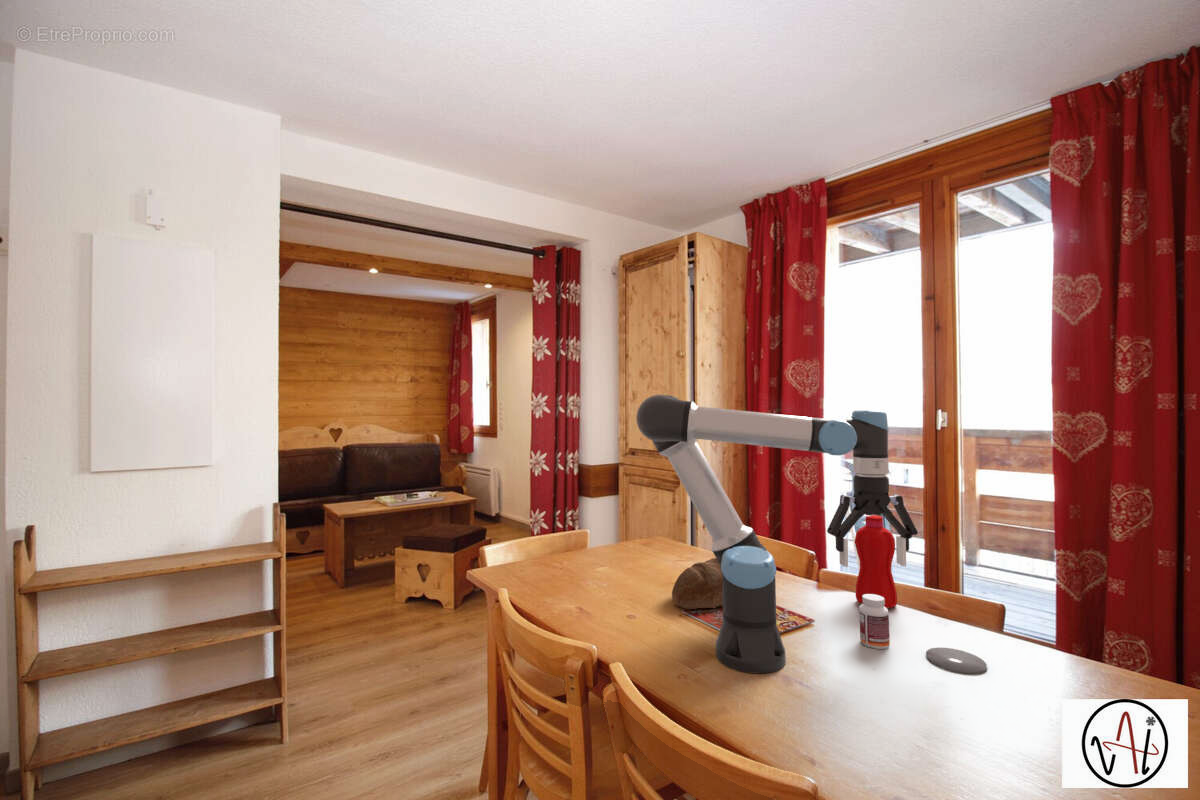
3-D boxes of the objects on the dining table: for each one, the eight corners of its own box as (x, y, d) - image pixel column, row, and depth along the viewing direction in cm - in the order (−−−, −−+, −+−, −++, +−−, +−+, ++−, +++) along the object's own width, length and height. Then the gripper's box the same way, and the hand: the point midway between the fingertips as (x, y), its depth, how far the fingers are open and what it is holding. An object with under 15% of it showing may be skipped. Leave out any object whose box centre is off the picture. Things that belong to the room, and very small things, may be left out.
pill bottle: (895, 645, 123) (893, 598, 124) (880, 652, 120) (879, 603, 120) (869, 636, 129) (867, 590, 129) (854, 642, 125) (853, 596, 125)
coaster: (946, 674, 110) (946, 671, 110) (915, 650, 121) (915, 647, 121) (999, 673, 110) (999, 670, 110) (963, 649, 121) (963, 647, 121)
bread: (768, 595, 159) (767, 557, 159) (698, 618, 142) (698, 575, 142) (727, 581, 171) (727, 546, 172) (660, 601, 155) (659, 562, 155)
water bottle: (871, 595, 157) (868, 510, 157) (902, 607, 146) (900, 517, 147) (846, 598, 154) (844, 512, 155) (876, 612, 144) (874, 520, 144)
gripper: (824, 477, 122) (826, 570, 121) (933, 476, 122) (935, 569, 121) (812, 473, 129) (813, 560, 129) (914, 472, 129) (915, 559, 129)
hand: (872, 565), depth 125 cm, fingers open, 13 cm apart
